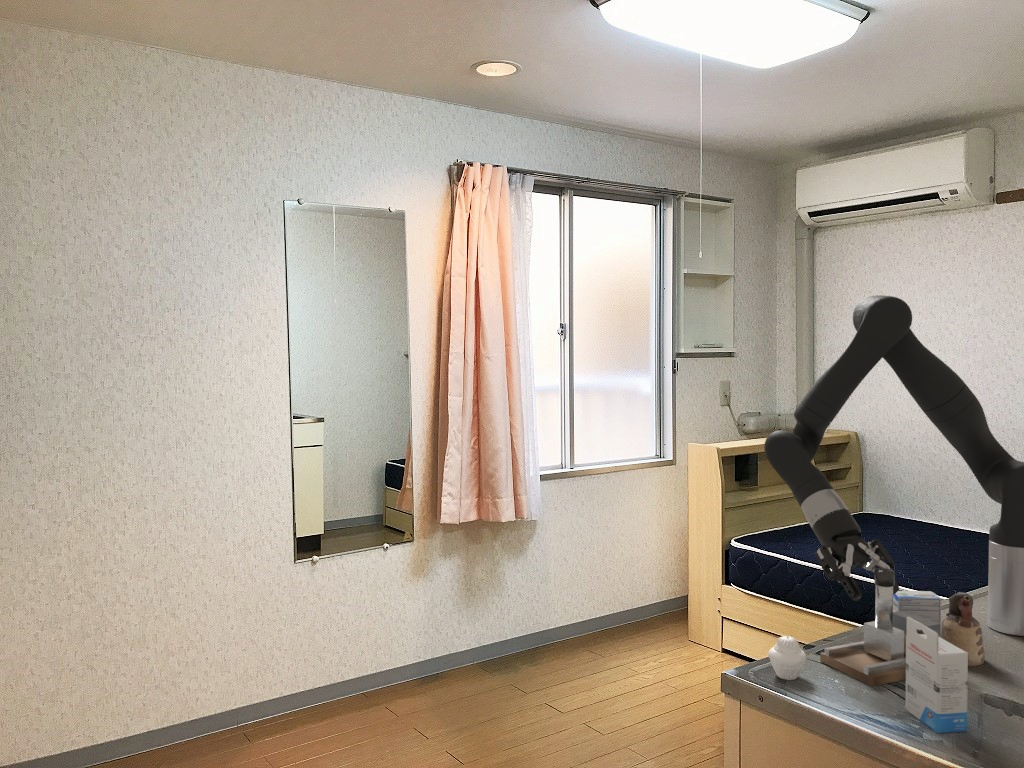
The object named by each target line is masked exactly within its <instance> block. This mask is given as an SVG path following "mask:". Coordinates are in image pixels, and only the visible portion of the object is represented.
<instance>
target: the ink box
mask: <svg viewBox="0 0 1024 768" xmlns="http://www.w3.org/2000/svg"><path fill="white" fill-rule="evenodd" d="M917 629H918V630H922V631H923V633H925V634H918V633H917ZM968 668H969V667H968V653H967V652H965V651H963V650H962V649H960V648H958V647H956V646H954V645H953V644H951V643H949V642H947V641H946V640H944V639H942V638H941V637H939V636H938V633H937V632H935V631H933V630H931V629H930V628H928V627H927V626H925V625H923V624H921V623H920V622H918V621H916V620H914V619H912V618H910V617H907V635H906V680H905V710H906V711H908V713H910V714H911V715H913V717H915V718H917V719H918V720H919V721H920V722H921V723H923V724H924V725H925V726H927V727H928V728H929V729H931V730H932V731H934V732H935V733H937V734H942V733H943V734H944V733H945V734H946V733H958V732H959V733H960V732H967V730H968V686H969V685H968V678H969V677H968V676H969V673H968V671H969V670H968Z"/></svg>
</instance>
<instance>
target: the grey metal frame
mask: <svg viewBox="0 0 1024 768" xmlns="http://www.w3.org/2000/svg"><path fill="white" fill-rule="evenodd" d="M907 617H910V618H912V619H914V620H916V621H918V622H920V623H921V624H923V625H925V626H927V627H928V628H930V629H931V630H933V631H935V632H937V633H938V636H939V637H940V629H941V627H942V623H941V624H940V623H937V622H934V621H931V620H928V619H926V618H923V617H920V616H917V615H914V614H912V613H909V612H906V611H898V612H893V627H895V628H897V629H900V630H902V631H904V634H905V635H907ZM917 633H918V634H925V633H923V631H922V630H918V629H917ZM862 650H864V640H861V641H857V642H851V643H846V644H840V645H835V646H830V647H825V648H824V652H825V655H826V656H828V657H830V656H835V655H840V654H846V653H851V652H856V651H862ZM901 668H906V658H902V659H897V660H892V661H887V662H882V663H877V664H872V665H867V666H864V674H866V675H872V674H877V673H882V672H887V671H892V670H897V669H901Z"/></svg>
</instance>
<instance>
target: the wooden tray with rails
mask: <svg viewBox="0 0 1024 768" xmlns="http://www.w3.org/2000/svg"><path fill="white" fill-rule="evenodd" d="M819 655H820V656H819V657H820V660H819V661H820V662H821V663H823V664H825V665H827V666H829V667H831V668H834V669H836V670H837V671H840V672H842V673H844V674H847V675H848V676H851V678H852V677H853V678H854V679H856V680H859V681H861V682H863V683H865V684H866V685H869V686H870V687H877V686H881V685H886V684H891V683H896V682H900V681H906V668H901V669H897V670H892V671H887V672H882V673H877V674H872V675H866V674H864V666H867V665H872V664H877V663H882V662H887V660H884V659H882V658H880V657H877V656H875V655H873V654H871V653H868V652H866V651H864V650H862V651H856V652H851V653H846V654H840V655H835V656H830V657H828V656H826V655H825V651H824V652H820V654H819ZM904 658H906V635H905V634H904Z"/></svg>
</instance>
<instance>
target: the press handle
mask: <svg viewBox="0 0 1024 768" xmlns="http://www.w3.org/2000/svg"><path fill="white" fill-rule="evenodd" d="M895 577H896V575H895V570H893V569H886V568H881V567H877V569H875V573H874V582H873V583H874V585H875V601H874V602H875V608H874V610H875V612H874V619H875V620H872V621H868V622H864V623H863V627H864V628H863V641H864V651H866V652H868V653H871V654H873V655H875V656H877V657H880V658H882V659H884V660H887V661H892V660H897V659H902V658H904V631H902V630H900V629H897V628H895V627H893V586H894V584H895V580H896V578H895Z"/></svg>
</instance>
